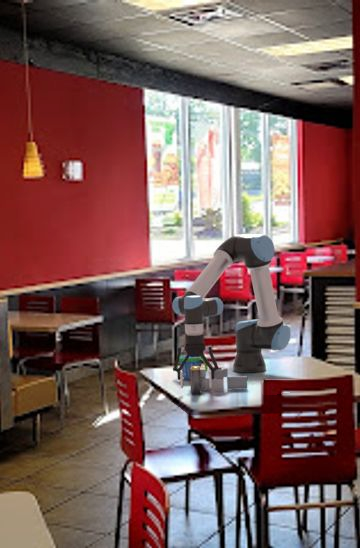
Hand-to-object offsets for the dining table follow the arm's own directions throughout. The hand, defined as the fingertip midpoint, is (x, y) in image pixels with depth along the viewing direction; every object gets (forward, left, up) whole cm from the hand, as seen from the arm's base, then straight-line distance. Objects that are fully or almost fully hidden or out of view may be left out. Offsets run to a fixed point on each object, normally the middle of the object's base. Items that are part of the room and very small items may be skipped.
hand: (196, 387), depth 336 cm
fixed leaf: (-8, +4, -3) cm, 10 cm away
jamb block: (-11, 0, -3) cm, 11 cm away
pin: (0, 0, -3) cm, 3 cm away
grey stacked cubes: (-8, +13, -3) cm, 15 cm away
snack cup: (-32, -4, -3) cm, 32 cm away
